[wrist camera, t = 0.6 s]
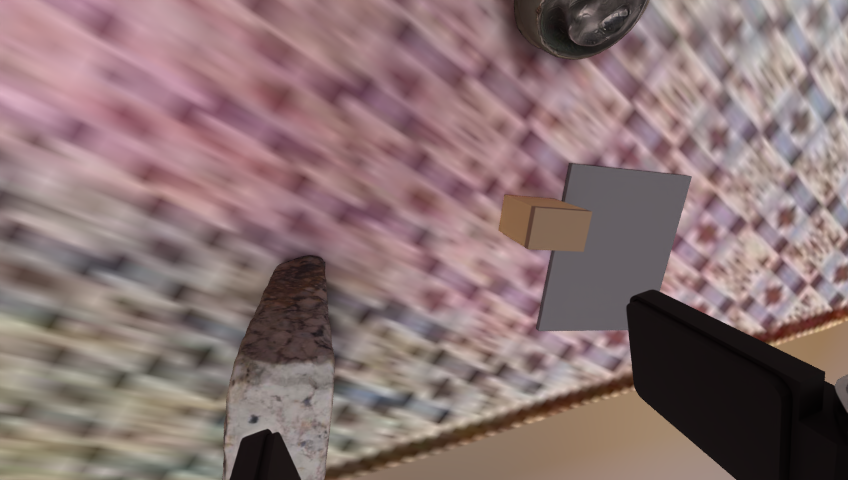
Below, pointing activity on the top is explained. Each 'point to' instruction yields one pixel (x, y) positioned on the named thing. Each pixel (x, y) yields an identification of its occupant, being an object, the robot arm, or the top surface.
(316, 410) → the stone block
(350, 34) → the top surface
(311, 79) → the top surface
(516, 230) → the block
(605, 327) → the mat
